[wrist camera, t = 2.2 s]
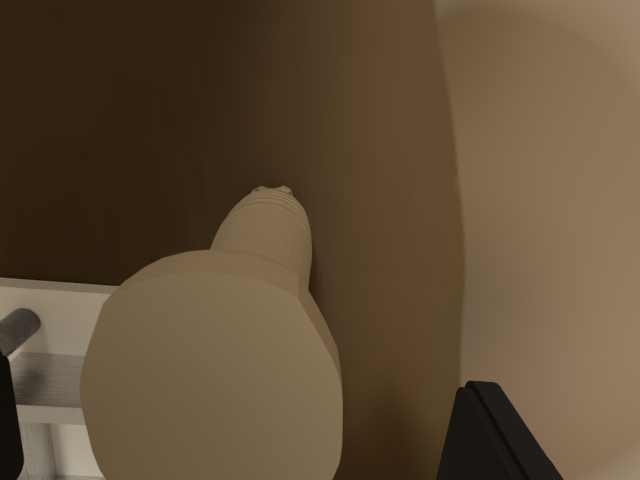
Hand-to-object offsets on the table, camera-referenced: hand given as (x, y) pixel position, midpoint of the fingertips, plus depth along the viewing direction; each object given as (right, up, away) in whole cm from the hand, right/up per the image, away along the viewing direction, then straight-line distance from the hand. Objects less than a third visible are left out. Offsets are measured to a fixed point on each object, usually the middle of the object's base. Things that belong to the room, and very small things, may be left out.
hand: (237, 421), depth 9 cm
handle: (-1, +5, +13) cm, 14 cm away
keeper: (-11, -5, +17) cm, 21 cm away
